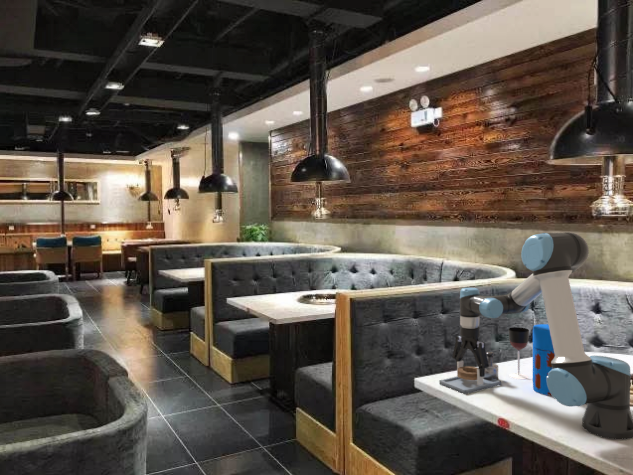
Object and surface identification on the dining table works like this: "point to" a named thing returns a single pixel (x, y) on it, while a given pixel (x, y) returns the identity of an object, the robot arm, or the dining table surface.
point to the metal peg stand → (491, 368)
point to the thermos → (542, 357)
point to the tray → (468, 384)
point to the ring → (467, 373)
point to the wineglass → (518, 345)
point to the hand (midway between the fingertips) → (470, 380)
